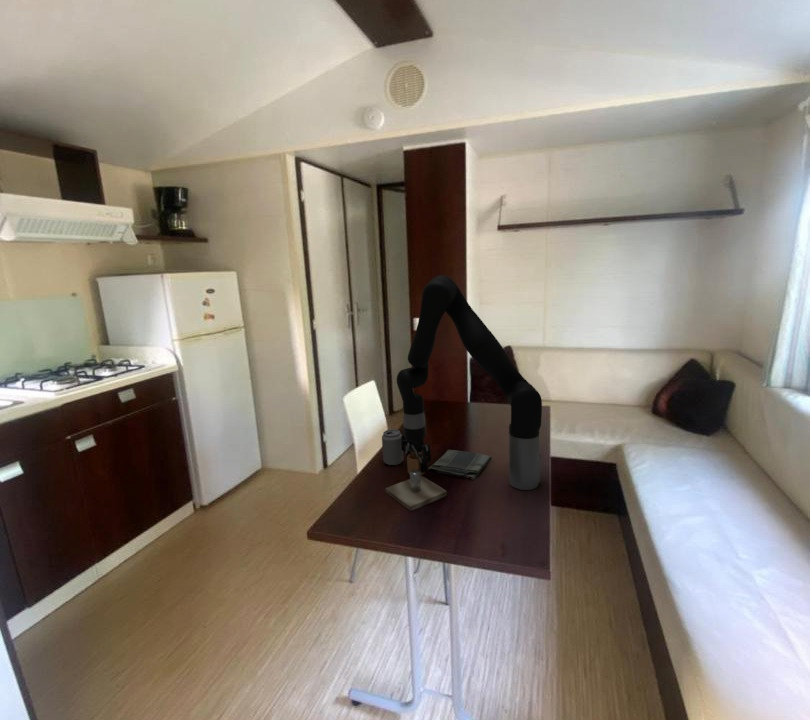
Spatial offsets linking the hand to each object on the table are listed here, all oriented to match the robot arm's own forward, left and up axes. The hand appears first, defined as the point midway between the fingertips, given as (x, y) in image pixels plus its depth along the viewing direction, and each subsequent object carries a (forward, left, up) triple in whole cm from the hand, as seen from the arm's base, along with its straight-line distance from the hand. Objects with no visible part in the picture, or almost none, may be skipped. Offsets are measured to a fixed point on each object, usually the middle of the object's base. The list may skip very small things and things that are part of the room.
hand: (416, 467), depth 150 cm
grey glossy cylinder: (+9, +12, 0) cm, 15 cm away
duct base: (+9, +12, -2) cm, 15 cm away
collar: (0, 0, -2) cm, 2 cm away
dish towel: (-15, +6, -2) cm, 16 cm away
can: (+2, -12, -2) cm, 12 cm away
